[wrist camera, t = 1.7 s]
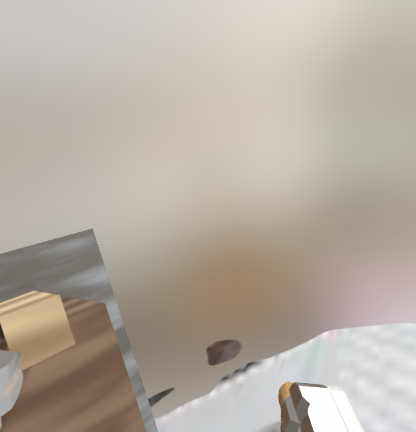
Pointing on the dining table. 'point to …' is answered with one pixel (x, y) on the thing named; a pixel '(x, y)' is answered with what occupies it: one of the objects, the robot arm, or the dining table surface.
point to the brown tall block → (76, 346)
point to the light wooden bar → (34, 324)
